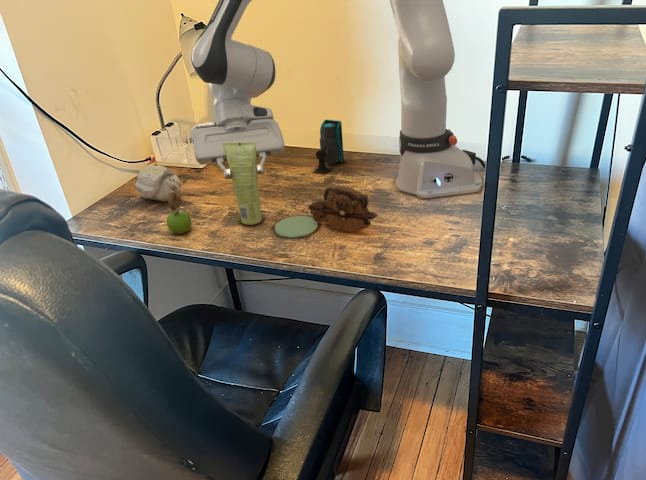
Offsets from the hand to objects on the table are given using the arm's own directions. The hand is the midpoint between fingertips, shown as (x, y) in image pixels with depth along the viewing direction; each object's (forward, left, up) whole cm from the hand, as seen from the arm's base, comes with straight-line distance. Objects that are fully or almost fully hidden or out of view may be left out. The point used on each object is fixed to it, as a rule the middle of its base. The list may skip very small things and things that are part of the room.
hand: (244, 175), depth 121 cm
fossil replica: (+27, -16, -12) cm, 34 cm away
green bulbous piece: (+16, +3, -12) cm, 20 cm away
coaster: (-11, +3, -12) cm, 16 cm away
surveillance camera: (-16, -33, -12) cm, 38 cm away
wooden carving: (-22, +5, -12) cm, 25 cm away
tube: (0, -1, -12) cm, 12 cm away
